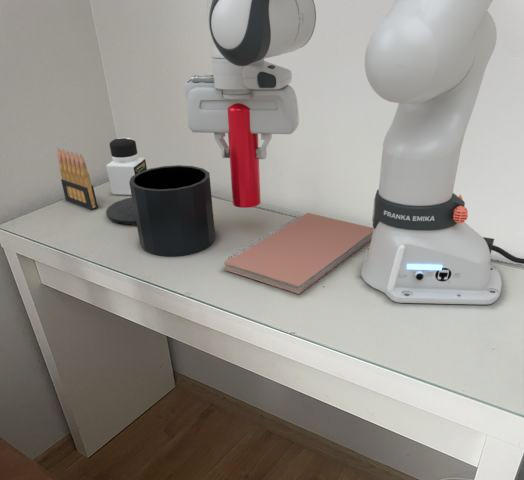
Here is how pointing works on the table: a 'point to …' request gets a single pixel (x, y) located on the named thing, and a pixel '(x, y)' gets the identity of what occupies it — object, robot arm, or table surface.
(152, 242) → the trash bin
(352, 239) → the notebook
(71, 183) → the ammunition clip
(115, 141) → the medicine bottle
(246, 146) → the bottle
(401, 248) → the robot arm
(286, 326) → the table surface
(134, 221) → the bin lid
